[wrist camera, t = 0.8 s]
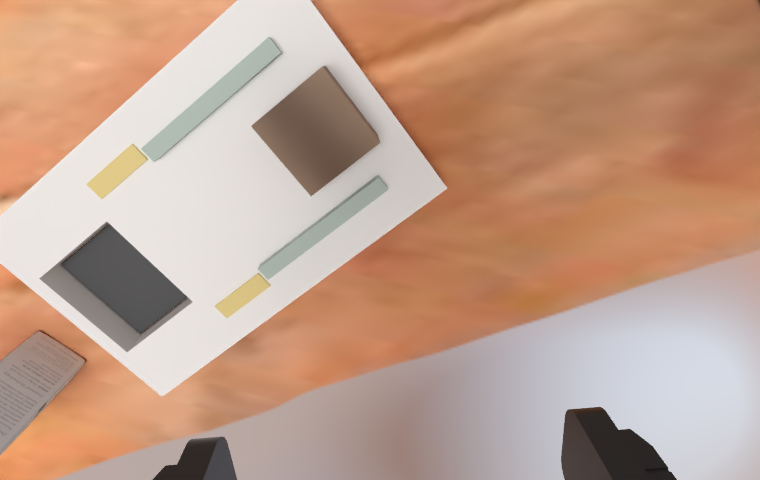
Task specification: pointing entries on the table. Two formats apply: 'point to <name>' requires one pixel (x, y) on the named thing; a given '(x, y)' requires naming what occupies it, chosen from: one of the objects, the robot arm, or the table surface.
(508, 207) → the table surface
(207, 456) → the robot arm
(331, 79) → the walnut block
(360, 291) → the table surface
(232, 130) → the board
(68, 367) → the skincare box
